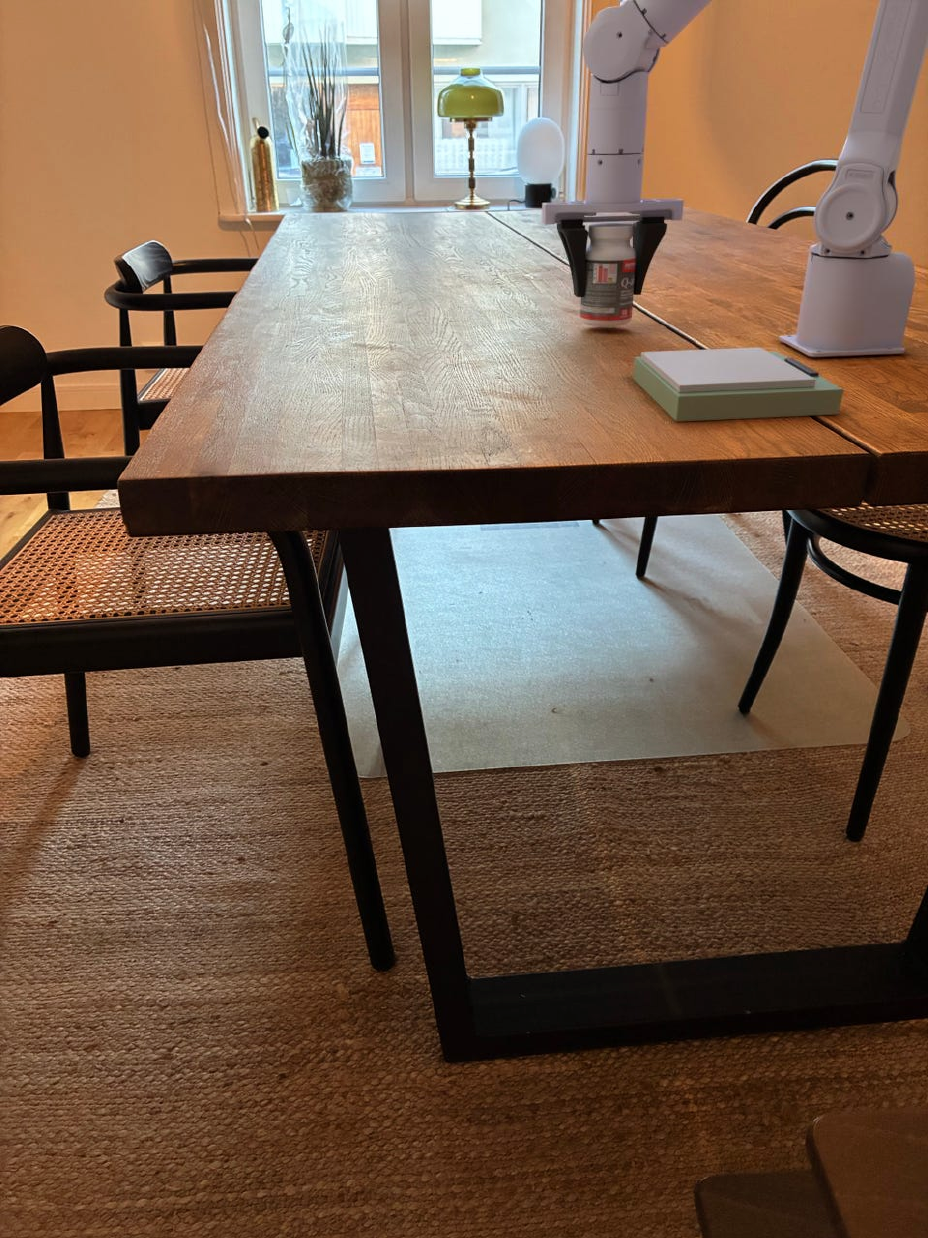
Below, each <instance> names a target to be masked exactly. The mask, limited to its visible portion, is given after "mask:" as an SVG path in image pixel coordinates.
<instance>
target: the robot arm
mask: <svg viewBox="0 0 928 1238" xmlns="http://www.w3.org/2000/svg"><path fill="white" fill-rule="evenodd" d="M617 1H618V2H619V6H608V7H605V8H603V9H601V10H600V11H598V12H597V13H596V15H595V16H594V18H593V20H592V21H591V23H590V24H589V25H588V28H587V30H586V32H585V34H584V38H583V41H582V42H583V43H582V57H583V60H584V63H585V65H586V67H587V69H588V71H589V73H590V84H589V87H590V88H589V102H588V124H587V125H588V126H587V145H586V146H587V148H586V149H587V151H586V172H585V196H584V197H585V198H584V200H573V201H555V202H542V203H541V223H542V224H543V225H545V226H548V225H555V224H556V231H557V234H558V236H559V238H560V241H561V243H562V246H563V249H564V252H565V255H566V258H567V261H568V266H569V269H570V273H571V278H572V285H573V286H572V287H573V295H574V296H575V297H576V298H581V297H584V292H585V256H586V248H587V247H588V246H587V245H588V239H589V237H588V231H589V230H588V229H586V225H585V224H584V223H610V222H633V223H632V224H633V236H632V247H633V248H634V250H635V252H636V266H635V280H634V296H641V295H642V290H643V287H644V283H645V280H646V276H647V273H648V270H649V267H650V266H651V262H652V261H653V258H654V255H655V253H656V252H657V249H658V247H659V246H660V244H661V242H662V241H663V239H664V237H665V235H666V234H667V230H668V223H666V222H665V221H682V220H683V214H684V213H683V212H684V201H685V200H683V199H681V198H659V199H658V198H642V187H643V174H644V158H645V143H646V129H647V128H646V127H647V114H648V91H649V76H650V74H651V73H652V72H653V70H654V68H655V66H656V65H657V63H658V60H659V57H660V53H661V48H666V47H667V46H668V45H669V44H670V43H671V42H672V41H673V40H674V39H675V38H676V37H677V36H679V34H680V33H681V32H682V31H683V30H684V29H685V28H687V27H688V25H689V24H690V23H691V22H693V20H694V19H695V18H696V17H697V16H699V14H701V12H702V11H704V9H706V7H708V6H709V5H710V3H712V2H713V0H617ZM875 15H876V16H875V19H874V23H873V27H872V31H871V36H870V39H869V43H868V48H867V52H866V56H865V60H864V65H863V69H862V72H861V77H860V81H859V86H858V90H857V94H856V98H855V102H854V107H853V111H852V115H851V118H850V122H849V123H850V124H849V127H848V132H847V135H846V138H845V141H844V144H843V147H842V149H841V151H840V154H839V157H838V160H837V163H836V166H835V167H836V168H835V172H834V175H833V178H832V180H831V182H830V184H829V185H828V186H827V188H826V190H825V191H824V192H823V194H822V195H821V196H820V197H819V200H818V201H817V203H816V205H815V208H814V211H813V212H814V213H813V219H812V220H813V221H812V223H813V230H814V233H815V235H816V238H817V240H818V242H817V243H815V244H811V245H810V246H809V252H808V258H807V264H806V270H805V276H804V283H803V289H802V295H801V301H800V306H799V307H800V308H799V313H798V320H797V326H796V333H795V334H786V335H785V334H784V335H779V339H778V340H779V341H780V342H782V343H784V344H786V345H788V346H789V347H791V348H793V349H795V350H797V351H799V352H801V353H802V354H804V355H806V356H808V357H811V358H826V357H827V358H828V357H830V358H831V357H851V356H852V357H853V356H874V355H900V354H901V355H902V354H905V351H906V348H905V347H904V346H902V344H903V341H904V340H903V339H904V335H905V332H906V327H907V322H908V317H909V313H910V308H911V304H912V299H913V295H914V290H915V286H916V285H915V283H916V271H915V270H916V269H915V265H914V261H913V260H912V257H910V256H909V255H908V254H907V253H905V252H898V251H893V249H892V248H893V245H892V244H890V243H889V241H887V239H886V236H884V235H882V234H883V233H885V231H887V229H888V228H889V227H890V226H891V224H892V223H893V221H894V220H895V217H896V215H897V214H898V209H899V193H898V190H897V184H896V177H897V172H898V168H899V164H900V161H901V155H902V154H901V152H902V147H903V141H904V136H905V133H906V129H907V125H908V122H909V118H910V114H911V110H912V107H913V104H914V99H915V95H916V91H917V87H918V84H919V80H920V76H921V74H922V70H923V65H924V62H925V58H926V53H927V51H928V0H879V2H878V6H877V10H876V14H875ZM598 213H599V214H601V213H603V214H605V213H606V214H610V213H612V214H613V213H615V214H616V213H627V214H630V215H605V216H604V215H601V216H600V215H598V216H597V214H598ZM892 251H893V252H892Z"/></svg>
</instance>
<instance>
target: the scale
mask: <svg viewBox="0 0 928 1238" xmlns="http://www.w3.org/2000/svg"><path fill="white" fill-rule="evenodd" d="M633 359H634V360H633V373H632V380H633V381H634V382H635V383H636V384H637V385H638V386H639V387H640V388H641V389H642V390H643V391H644V392H645V393H646V394H647V395H648V396H649V397H650V398H651V399H652V400H653V401H654V402H656V403H657V404H658V405H659V407H661V409H662V410H664V412H666V413H667V414H668V416H670V417H671V418H672V419H673V421H675V422H676V423H681V422H698V421H699V422H701V421H703V422H704V421H724V420H743V419H744V420H745V419H766V418H767V419H769V418H788V417H810V416H811V417H812V416H814V417H815V416H829V415H830V416H833V415H836V416H837V415H839V413H840V409H841V403H842V398H843V394H844V393H843V392H844V389H843V388H842V387H840V386H838V385H837V384H835V383H833V382H831V381H829V380H828V379H826V378H824V377H823V376H821V375H820V373H819V372H818V371H816V370H814V369H813V368H811V367H809V366H807V365H806V364H804V363H803V362H801V361H799V360H797V359H795V358H794V357H787V356H786V355H784V354H782V353H780V352H779V351H776V350H772V351H771V350H769V351H767V350H766V349H764V348H762V347H738V348H737V347H735V348H714V349H713V348H712V349H711V348H709V349H686V350H661V351H641V352H640V356H634V358H633Z"/></svg>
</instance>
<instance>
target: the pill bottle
mask: <svg viewBox="0 0 928 1238" xmlns="http://www.w3.org/2000/svg"><path fill="white" fill-rule="evenodd" d="M587 231H588V239H589V245H588V246H587V247H586V256H585V292H584V297H580V303H579V304H580V306H579V320H580V322H581V323H583V324H584V325H588V326H592V327H593V326H594V327H607V328H608V327H619V326H625V325H627V324H629V323H630V322H631V321H632V319H633V310H634V309H633V308H634V296H635V295H634V280H635V266H636V252H635V250H634V248H633V245H631V239H633V223H631V222H621V221H617V222H596V223H592V224H589V225H588V230H587Z"/></svg>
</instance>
